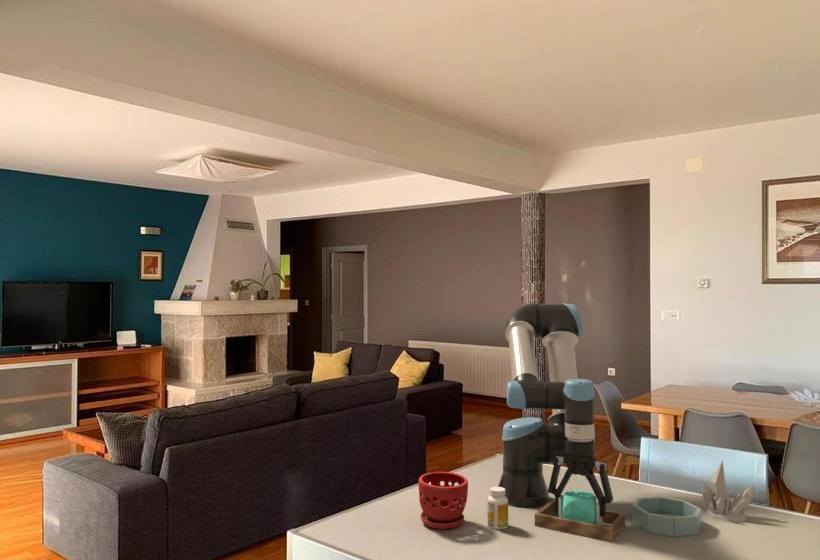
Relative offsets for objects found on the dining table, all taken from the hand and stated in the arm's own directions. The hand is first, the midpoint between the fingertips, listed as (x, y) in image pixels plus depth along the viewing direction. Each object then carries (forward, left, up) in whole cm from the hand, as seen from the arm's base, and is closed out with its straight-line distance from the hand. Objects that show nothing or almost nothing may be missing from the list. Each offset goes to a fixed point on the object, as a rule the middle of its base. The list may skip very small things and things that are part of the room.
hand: (580, 524), depth 165 cm
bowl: (+19, +13, 0) cm, 23 cm away
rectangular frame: (0, 0, 0) cm, 0 cm away
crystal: (+32, +29, -1) cm, 43 cm away
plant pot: (-31, -18, 0) cm, 36 cm away
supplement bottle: (-18, -12, 0) cm, 22 cm away
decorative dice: (0, 0, -1) cm, 1 cm away
